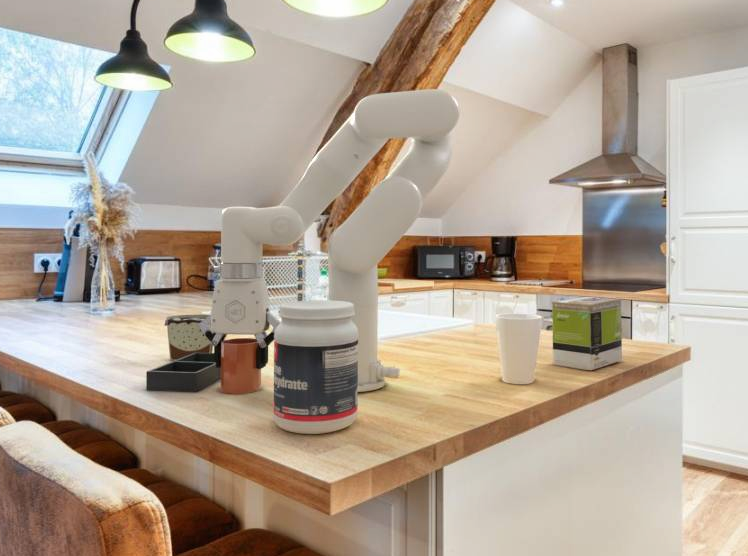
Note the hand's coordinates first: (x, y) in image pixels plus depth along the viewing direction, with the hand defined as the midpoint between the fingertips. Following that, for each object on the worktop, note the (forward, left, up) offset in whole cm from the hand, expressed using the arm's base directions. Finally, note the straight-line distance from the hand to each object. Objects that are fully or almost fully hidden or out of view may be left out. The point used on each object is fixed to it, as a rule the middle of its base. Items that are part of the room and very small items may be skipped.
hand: (241, 366), depth 116 cm
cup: (0, 0, -4) cm, 4 cm away
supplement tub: (-20, +19, -4) cm, 28 cm away
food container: (+22, -26, -4) cm, 34 cm away
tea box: (-69, -35, -4) cm, 77 cm away
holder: (+12, -6, -4) cm, 14 cm away
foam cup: (-52, -15, -4) cm, 54 cm away
